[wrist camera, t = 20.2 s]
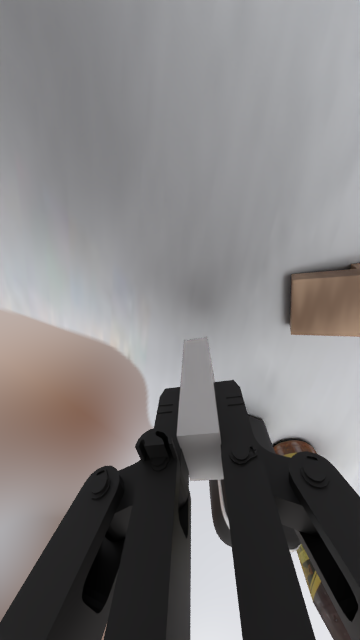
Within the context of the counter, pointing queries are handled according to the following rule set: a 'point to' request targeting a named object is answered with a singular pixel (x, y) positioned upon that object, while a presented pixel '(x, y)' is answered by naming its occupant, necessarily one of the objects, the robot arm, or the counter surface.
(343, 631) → the sauce bottle
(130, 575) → the robot arm
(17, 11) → the counter surface
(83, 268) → the counter surface
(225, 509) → the battery charger
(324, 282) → the domino
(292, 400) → the counter surface
